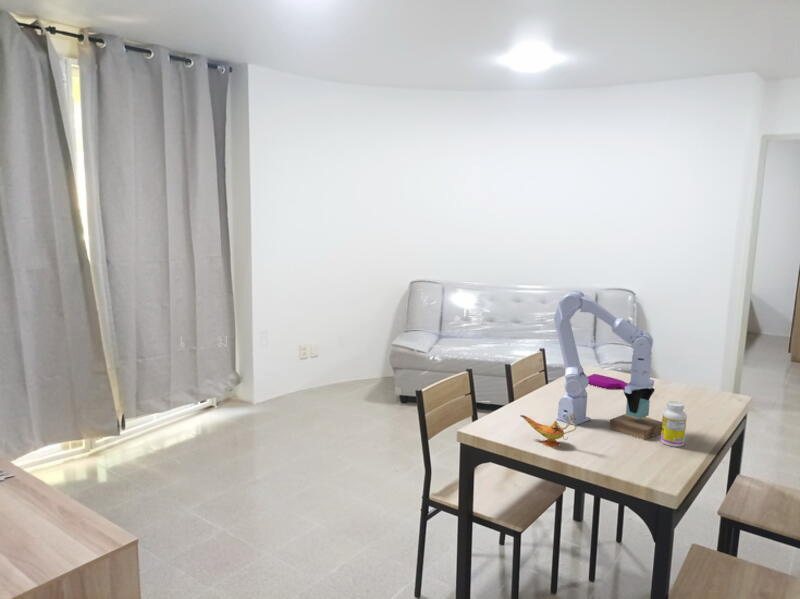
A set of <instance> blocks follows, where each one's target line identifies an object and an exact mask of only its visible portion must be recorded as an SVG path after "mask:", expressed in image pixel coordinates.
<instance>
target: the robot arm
mask: <svg viewBox="0 0 800 599" xmlns="http://www.w3.org/2000/svg"><path fill="white" fill-rule="evenodd" d="M578 311H579V312H580V313H589V314H592V315H593V316H595V317H596V318H598V319H600V320H601V321H602V322H604V323H605V324H606V325H608V326H610V328H611V332H612V333H613V334H614V335H616V336H617V337H619V338H620V339H622V340H623V341H624V342H626V343H627V344H629V345H631V347H632V349H633V351H632V356H631V368H630V369H631V370H630V381H629V382H628V385H627V386H625V390H624V389H623V394H624V396H625V398H626V402H627V401H628V405H629V410H630V412H632V413H637V410H638V405H639V401H640V399H641V398H642V399H645V400H649V401H650V399H651V397H652V395H653V394H654V393H655V390H656V389H655V388H653V387H654V385H655V380H653V379H651V370H652V369H651V368H652V348H653V344H654V339H653V337H652V335H651V334H650V332H647V331H645V330H644V329H642V328H638V327H637V326H636V325H635V324H633V323H632V321H631V320H630V318H627V319H626V318H624V317H622V318H618V317H616V316H615V315H614V314H613V313H612V312H610V311H608V310H607V309H606V308H605V307H603V306H602V305H601V304H600V303H598V302H597V301H596V300H594V299H593V298H592V297H590V296H589V295H587V294H584V293H583V292H582V291H581V290H572V291H570V292H569V293H567V294H565V295H564V296H563V297H562V298H561V299H560V300H559V301H558V304H557V308H556V310H555V312H554V316H553V321H554V325H555V330H556V333H557V334H556V335H557V337H558V342H559V346H560V351H561V356H562V359H563V363H564V368H565V371H564V372H565V374H564V377H565V383H564V390H565V392H564V396H563V397H561V398H560V399H559V401H558V409H557V410H558V411H557V412H558V413H557V416H555V419H556V420H558V421H562V422H564V423H567V424H568V422H569V419H570V417H571V415H572V414H574V416H572V418H574V419H572V420H573V421H574V422H575V424H576V426H577V425H579V424H583V423H586V422H588V421H591V420H592V417H589V416H587V406H588V393H587V390H586V388H587V387H588V386H589V385H588V384H589V380H588V375H587V374H586V373H585V371H584V368H583V366H582V365H581V361H580V358H579V352H578V349H577V345H576V341H575V337H574V332H573V328H572V324H571V319H572V318H573V316H574V315H575V314H576V312H578ZM569 415H570V416H569ZM570 420H571V419H570ZM572 420H571V421H570V422H569V425H572V426H575V424H574V423H573V421H572Z"/></svg>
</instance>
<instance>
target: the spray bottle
mask: <svg viewBox="0 0 800 599" xmlns="http://www.w3.org/2000/svg"><path fill="white" fill-rule="evenodd" d="M587 377H588V380H589V384H590V385H589V386H592V385H593V387H596V386H597V388H600V387H601V388H600V389H604V388H606V389H605V390H624V389H625V386H627V385H628V384H629V382H626V381H624V380H621V379H618V378H615V377H611V376H606V375H602V374H597V373H593V374H591V375H587Z"/></svg>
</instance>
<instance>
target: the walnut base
mask: <svg viewBox="0 0 800 599" xmlns="http://www.w3.org/2000/svg"><path fill="white" fill-rule="evenodd" d="M608 428H609V429H610V430H613V431H617V432H619V433H622V434H624V435H625V434H626V435H628V434H629V436H631V435H632V436H631V437H634V436H635V437H634V438H637V437H638V438H637V439H640V438H641V439H640V440H642V439H643V441H645V440H647V439H649V438H652V437H654V436H656V435H658V434H661V433H660V432H661V430H662V421H660V420H657V419H653V418H650V417H648V416H646V417H643V418H641V419H640V418H636V417H633V416H630V415H626V413H624V414H622V415H618V416H616V417H613V418H610V419H609V427H608ZM653 435H654V436H653ZM651 436H652V437H651ZM644 439H645V440H644Z"/></svg>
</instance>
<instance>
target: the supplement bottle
mask: <svg viewBox="0 0 800 599" xmlns="http://www.w3.org/2000/svg"><path fill="white" fill-rule="evenodd" d="M666 407H667V408H666V409H664V410H663V412H662V418H661V420H662V421H661V422H662V430H661V433H660V434H661V435H660V441H661V443H662V444H664V445H666V446H670V447H674V448H676V447H677V448H679V447H683V446H684V445H685V441H686V428H687V418H688V416H687V413H686V412H685V411H684V409H685V404H684V403H683V402H681V401H673V400H669V401H667V403H666Z"/></svg>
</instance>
